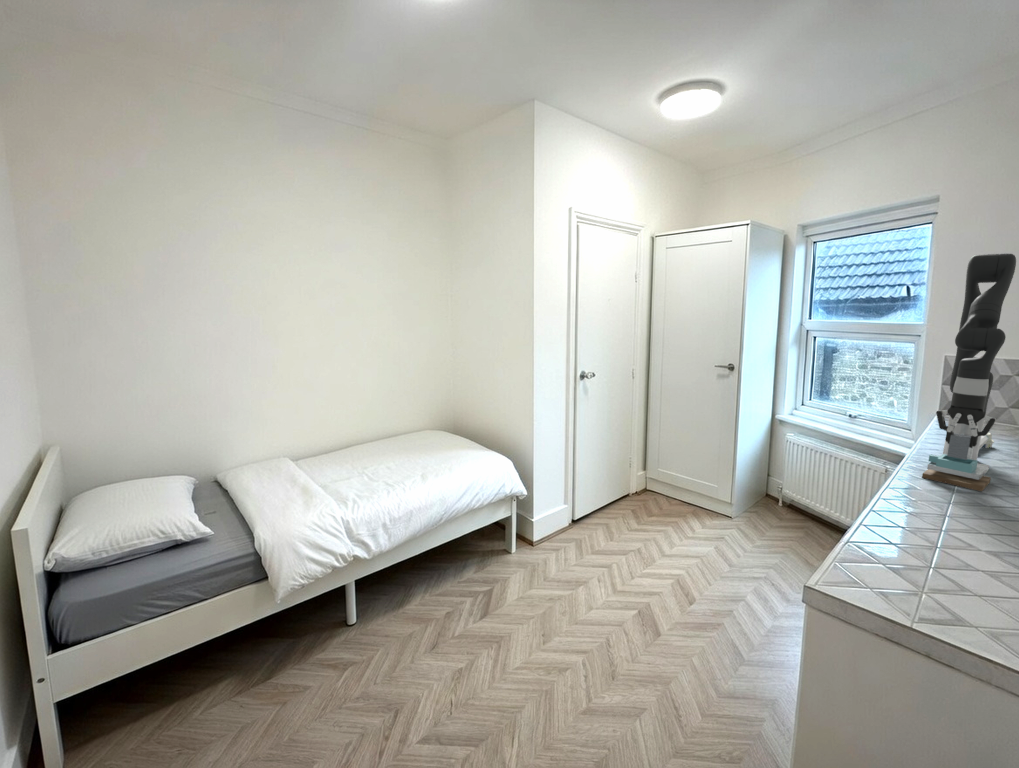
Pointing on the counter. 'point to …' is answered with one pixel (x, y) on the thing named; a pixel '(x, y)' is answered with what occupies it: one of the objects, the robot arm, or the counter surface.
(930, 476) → the foot plate
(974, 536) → the counter surface
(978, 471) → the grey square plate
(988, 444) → the cream flanged bar
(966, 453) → the brushed steel block
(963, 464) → the bracket head
